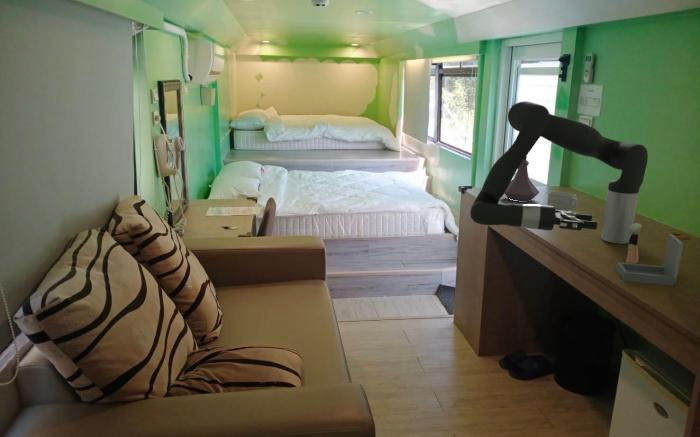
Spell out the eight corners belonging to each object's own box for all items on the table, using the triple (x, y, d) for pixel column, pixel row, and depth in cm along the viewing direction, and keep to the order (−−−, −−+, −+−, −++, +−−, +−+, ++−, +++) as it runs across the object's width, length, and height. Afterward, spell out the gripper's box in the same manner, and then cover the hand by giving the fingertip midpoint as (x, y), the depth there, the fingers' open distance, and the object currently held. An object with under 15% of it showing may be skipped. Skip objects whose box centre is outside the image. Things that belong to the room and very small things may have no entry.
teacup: (541, 209, 223) (543, 190, 221) (564, 208, 225) (567, 190, 223) (559, 217, 210) (562, 198, 207) (584, 216, 211) (587, 197, 209)
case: (615, 270, 153) (622, 230, 150) (665, 274, 150) (672, 234, 147) (623, 280, 145) (629, 239, 141) (675, 286, 141) (683, 243, 138)
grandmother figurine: (638, 268, 154) (645, 227, 151) (624, 266, 155) (630, 225, 152) (636, 260, 161) (642, 220, 158) (622, 259, 162) (628, 219, 159)
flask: (501, 194, 249) (505, 152, 244) (538, 197, 244) (543, 154, 239) (499, 202, 234) (503, 157, 228) (538, 205, 229) (544, 159, 223)
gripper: (540, 210, 154) (600, 215, 150) (536, 200, 167) (591, 204, 163) (537, 234, 156) (596, 240, 152) (533, 223, 169) (588, 228, 165)
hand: (594, 222), depth 158 cm, fingers open, 8 cm apart
